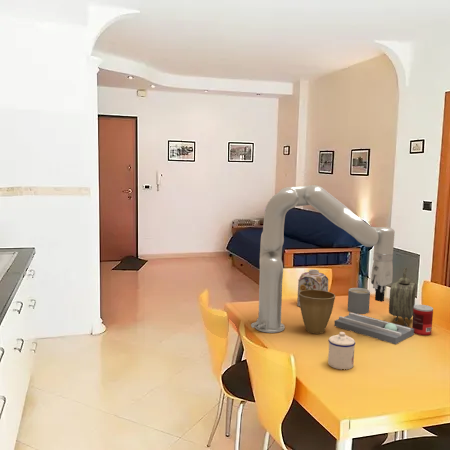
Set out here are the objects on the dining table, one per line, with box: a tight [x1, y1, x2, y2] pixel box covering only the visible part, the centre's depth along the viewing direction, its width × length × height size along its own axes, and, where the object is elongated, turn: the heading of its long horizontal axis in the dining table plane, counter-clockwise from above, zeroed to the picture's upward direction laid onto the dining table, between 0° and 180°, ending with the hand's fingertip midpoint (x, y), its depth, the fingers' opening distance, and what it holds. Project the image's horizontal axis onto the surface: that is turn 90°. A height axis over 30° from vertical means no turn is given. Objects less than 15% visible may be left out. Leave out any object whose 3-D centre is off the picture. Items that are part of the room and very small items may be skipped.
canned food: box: [411, 304, 434, 337], centre depth 199 cm, size 8×8×11 cm
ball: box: [384, 322, 397, 331], centre depth 196 cm, size 5×5×5 cm
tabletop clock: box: [388, 266, 417, 327], centre depth 211 cm, size 14×9×25 cm, turn 152°
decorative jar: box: [296, 268, 329, 307], centre depth 235 cm, size 12×12×18 cm
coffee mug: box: [347, 287, 371, 315], centre depth 230 cm, size 13×10×10 cm
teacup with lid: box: [327, 331, 356, 371], centre depth 167 cm, size 12×9×12 cm
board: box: [333, 312, 415, 345], centre depth 201 cm, size 28×16×4 cm, turn 44°
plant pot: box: [299, 290, 336, 335], centre depth 199 cm, size 15×15×16 cm
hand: (379, 300), depth 198 cm, fingers closed
